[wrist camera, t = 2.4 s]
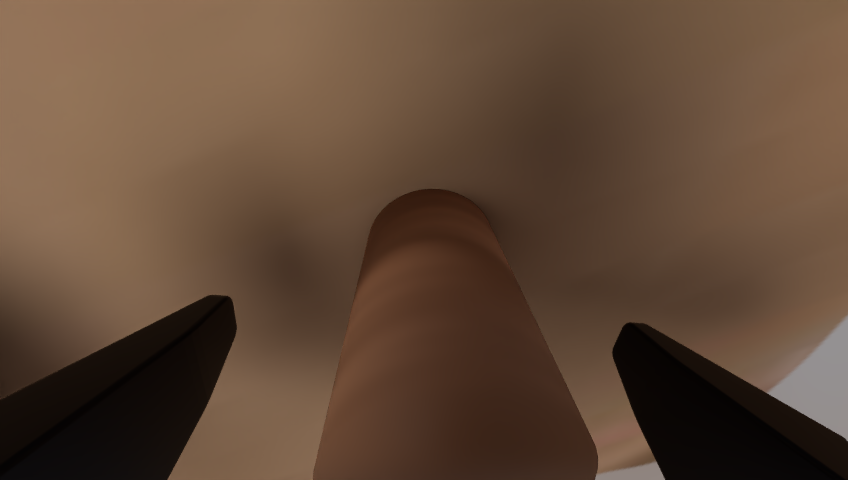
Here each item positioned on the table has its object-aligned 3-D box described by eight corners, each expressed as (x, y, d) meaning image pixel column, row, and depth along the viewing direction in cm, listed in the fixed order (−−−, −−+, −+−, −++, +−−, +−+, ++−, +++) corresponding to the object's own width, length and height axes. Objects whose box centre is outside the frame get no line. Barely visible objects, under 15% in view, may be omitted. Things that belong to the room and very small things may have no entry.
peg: (365, 295, 12) (317, 551, 6) (370, 182, 10) (306, 378, 4) (480, 303, 12) (553, 553, 6) (505, 195, 10) (643, 395, 4)
